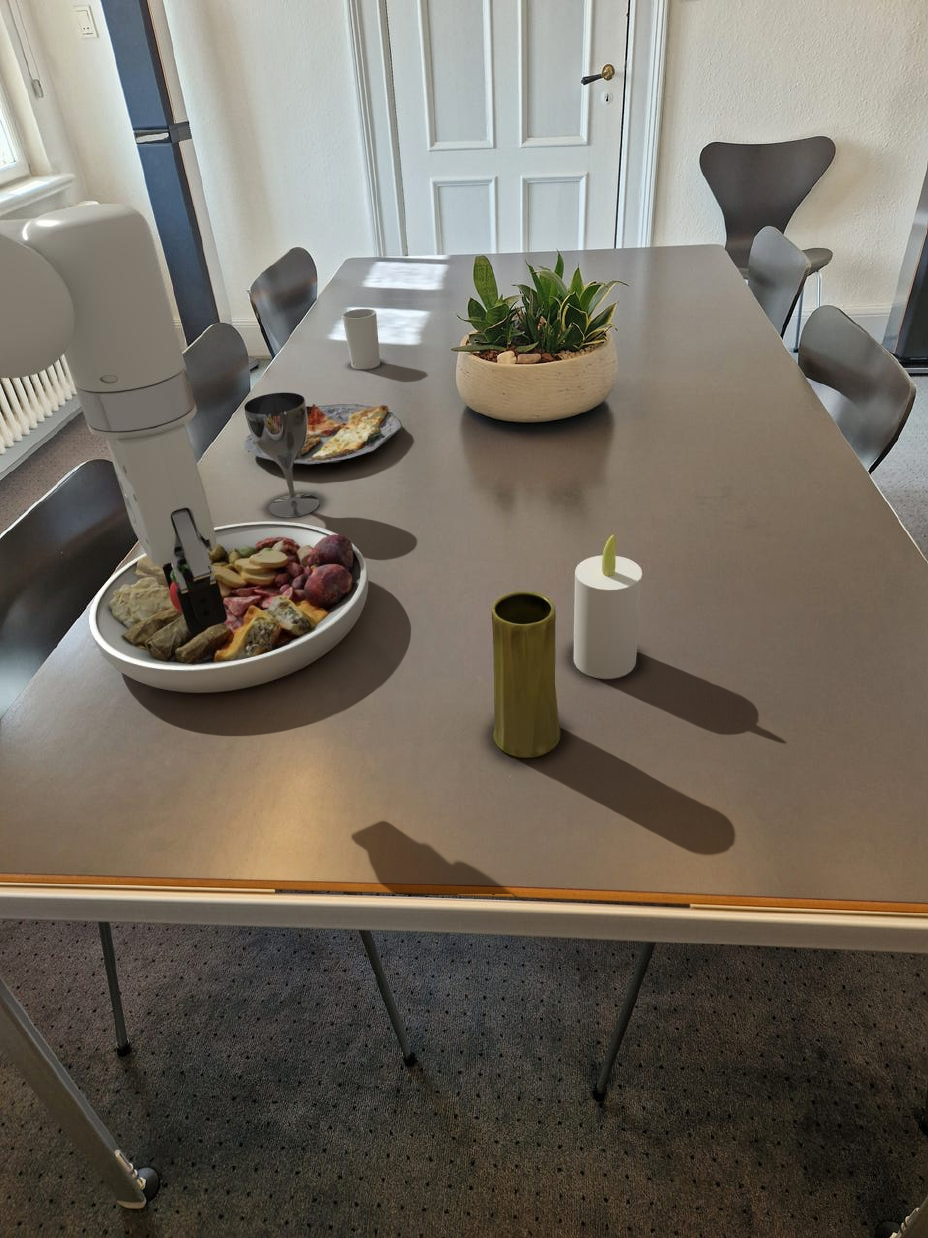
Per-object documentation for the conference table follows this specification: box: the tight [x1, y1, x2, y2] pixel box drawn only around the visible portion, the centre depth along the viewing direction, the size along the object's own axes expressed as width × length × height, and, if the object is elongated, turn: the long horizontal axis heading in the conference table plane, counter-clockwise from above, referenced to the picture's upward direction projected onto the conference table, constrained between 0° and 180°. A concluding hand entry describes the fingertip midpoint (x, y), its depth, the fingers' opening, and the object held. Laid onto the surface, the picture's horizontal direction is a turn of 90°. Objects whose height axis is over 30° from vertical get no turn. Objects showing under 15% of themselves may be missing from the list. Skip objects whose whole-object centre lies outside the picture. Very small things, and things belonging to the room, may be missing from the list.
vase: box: [491, 590, 561, 759], centre depth 74 cm, size 6×6×14 cm
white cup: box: [341, 308, 381, 370], centre depth 167 cm, size 7×7×10 cm
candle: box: [573, 534, 643, 680], centre depth 83 cm, size 6×6×15 cm
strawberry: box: [170, 563, 221, 614], centre depth 70 cm, size 4×4×4 cm
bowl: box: [88, 521, 369, 694], centre depth 94 cm, size 30×30×8 cm
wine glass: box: [243, 392, 321, 518], centre depth 116 cm, size 8×8×15 cm
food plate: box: [243, 403, 403, 465], centre depth 137 cm, size 25×23×4 cm
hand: (200, 610), depth 70 cm, fingers closed on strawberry, 3 cm apart
